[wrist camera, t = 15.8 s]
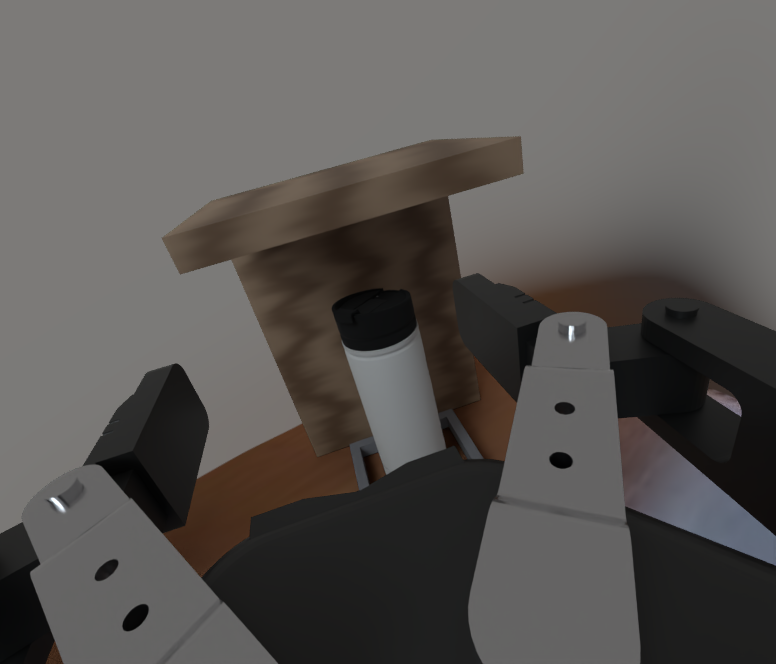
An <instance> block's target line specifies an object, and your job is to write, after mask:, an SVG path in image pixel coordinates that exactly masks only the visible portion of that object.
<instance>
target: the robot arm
mask: <svg viewBox="0 0 776 664" xmlns="http://www.w3.org/2000/svg"><path fill="white" fill-rule="evenodd" d="M452 287H453V295H454V302H455V309H456V316H457V322H458V329H459V333H460V336H461V338H462V341H463V343H464V344H465V346H466V347H467V348H468V349H469V351H470V352H471V353H472V354H473V355H474V356H475V357H476V358H477V359H478V360H479V362H480V363H481V364H482V365H483V366H484V367H485V368H486V369H487V370H488V371H489V373H490V374H491V375H492V376H493V377H494V378H495V379H496V380H497V381H498V383H499V384H500V385H501V386H502V387H503V388H504V389H505V390H506V391H507V392H508V394H509V395H510V396H511V397H512V398H513V399H514V400H515V401H516V402H517V406H516V411H515V416H514V420H513V425H512V430H511V435H510V439H509V444H508V449H507V453H506V458H505V461H500V460H493V459H467V460H463V459H462V458H461V456H460V454H459V452H458V451H457V449H456V447H455V446H452V447H449V448H447V449H444V450H441V451H438V452H435V453H432V454H430V455H427V456H424V457H421V458H418V459H415V460H413V461H410V462H407V463H405V464H404V465H402V466H400V467H399V468H397V469H395V470H394V471H392V472H390V473H389V474H387V475H385V476H384V477H382V478H380V479H379V480H377V481H375V482H374V483H372V484H370V485H369V486H367V487H365V488H364V489H362V490H360V491H357V492H352V493H344V494H337V495H330V496H322V497H315V498H307V499H302V500H299V501H296V502H294V503H291V504H288V505H285V506H282V507H279V508H277V509H274V510H271V511H268V512H265V513H262V514H260V515H257V516H254V517H251V525H250V537H248V538H247V539H245V540H243V541H242V542H240V543H239V544H238V545H236V546H235V547H233V548H232V549H231V550H230V551H228V552H227V553H226V554H225V555H224V556H222V557H221V558H220V559H219V560H218V561H217V562H216V563H215V564H214V565H213V566H212V567H211V568H210V569H209V570H208V571H207V572H206V573H205V574H204V575H203V577H202V578H201V577H200V576H199V575H198V574H197V573H196V572H195V571H194V569H193V568H192V567H191V566H190V565H189V564H188V563H187V561H186V560H185V559H184V558H183V557H182V556H181V555H180V553H179V552H178V551H177V550H176V549H175V548H174V546H173V545H172V544H171V543H170V542H169V541H168V540H167V538H166V537H165V536H164V535H163V533H165V532H168V531H171V530H174V529H177V528H179V527H182V526H185V524H186V520H187V516H188V512H189V508H190V503H191V499H192V495H193V491H194V487H195V483H196V479H197V475H198V470H199V466H200V462H201V458H202V454H203V450H204V446H205V442H206V438H207V434H208V430H209V421H208V416H207V412H206V410H205V407H204V405H203V404H202V402H201V400H200V398H199V396H198V395H197V393H196V391H195V389H194V388H193V386H192V384H191V382H190V380H189V378H188V376H187V375H186V373H185V371H184V369H183V368H182V367H181V366H180V365H179V364H172V365H169V366H166V367H162V368H159V369H156V370H152V371H149V372H147V373H146V374H145V376H144V378H143V379H142V381H141V383H140V385H139V386H138V388H137V390H136V392H135V393H134V395H132V396H130V397H129V398H128V399H127V400H126V401H125V402H124V403H123V404H122V405H121V406H120V407H119V408H118V409H117V410H116V412H115V413H114V415H113V417H112V418H111V420H110V422H109V423H110V424H109V425H107V427H106V428H105V430H104V432H103V436H101V437H100V438H99V440H98V442H97V443H96V445H95V446H94V448H93V450H92V451H91V453H90V455H89V457H88V458H87V460H86V461H85V463H84V465H83V466H82V467H79V468H76V469H74V470H72V471H69V472H67V473H65V474H63V475H62V476H60V477H58V478H56V479H55V480H53V481H52V482H50V483H49V484H48V485H46V486H45V487H44V488H43V489H42V490H40V491H39V492H38V493H37V494H36V495H35V496H34V497H33V498H32V499H31V500H30V502H29V503H28V504H27V506H26V507H25V509H24V511H23V513H22V521H23V522H22V523H20V524H18V525H16V526H14V527H12V528H10V529H9V530H6V531H5V532H3V533H1V534H0V664H45V663H46V661H47V658H48V656H49V653H50V651H51V648H52V646H53V643H54V641H55V642H56V645H57V647H58V650H59V653H60V655H61V658H62V661H63V663H64V664H776V566H775V565H772V564H770V563H767V562H765V561H762V560H760V559H757V558H755V557H752V556H750V555H747V554H745V553H742V552H739V551H737V550H734V549H732V548H729V547H727V546H724V545H722V544H719V543H717V542H714V541H712V540H709V539H706V538H704V537H701V536H699V535H696V534H694V533H691V532H689V531H686V530H684V529H681V528H678V527H676V526H673V525H671V524H668V523H666V522H663V521H661V520H658V519H656V518H653V517H651V516H648V515H646V514H643V513H640V512H638V511H635V510H633V509H630V508H628V507H625V502H624V490H623V478H622V465H621V453H620V441H619V428H618V418H627V417H638V418H639V419H640V420H641V421H642V422H644V423H645V424H646V425H647V426H648V427H649V428H651V429H652V430H653V431H654V432H655V433H656V434H658V435H659V436H660V437H661V438H662V439H663V440H665V441H666V442H667V443H668V444H669V445H670V446H672V447H673V448H674V449H675V450H676V451H677V452H679V453H680V454H681V455H682V456H683V457H684V458H686V459H687V460H688V461H689V462H690V463H691V464H693V465H694V466H695V467H696V468H697V469H698V470H700V471H701V472H702V473H703V474H704V475H705V476H707V477H708V478H709V479H710V480H711V481H712V482H714V483H715V484H716V485H717V486H718V487H719V488H721V489H722V490H723V491H724V492H725V493H726V494H728V495H729V496H730V497H731V498H732V499H733V500H735V501H736V502H737V503H738V504H739V505H740V506H742V507H743V508H744V509H745V510H746V511H747V512H749V513H750V514H751V515H752V516H753V517H754V518H756V519H757V520H758V521H759V522H760V523H761V524H763V525H764V526H765V527H766V528H767V529H768V530H770V531H771V532H772V533H773V534H774V535H775V536H776V331H774V330H771V329H769V328H767V327H764V326H762V325H759V324H757V323H755V322H752V321H750V320H748V319H745V318H743V317H740V316H738V315H735V314H733V313H731V312H729V311H726V310H724V309H721V308H719V307H716V306H714V305H712V304H709V303H707V302H704V301H700V300H695V299H687V298H668V299H661V300H656V301H654V302H651V303H649V304H647V305H646V306H645V307H644V308H643V313H642V323H640V324H633V325H625V326H617V327H609V328H608V327H607V325H606V323H605V321H603V320H602V319H601V318H599V317H597V316H595V315H592V314H588V313H582V312H565V313H558V314H557V313H555V312H554V311H552V310H551V309H549V308H547V307H546V306H544V305H543V304H541V303H540V302H538V301H536V300H534V299H533V298H532V297H530V296H528V295H525V293H523V292H522V291H520V290H519V289H517V288H515V287H513V286H508V285H504V284H500V283H498V284H494V283H492V282H491V281H489V280H488V279H486V278H485V277H483V276H482V275H480V274H478V273H476V274H473V275H470V276H467V277H463V278H460V279H457V280H454V281H453V286H452ZM710 379H711V380H713V381H714V382H716V383H718V384H719V385H721V386H723V387H724V388H726V389H727V390H729V391H730V392H731V393H732V394H733V395H734V396H735V397H736V399H737V400H738V402H739V404H740V407H741V410H742V416H741V417H740V416H739V415H737V414H735V413H734V412H732V411H731V410H729V409H728V408H726V407H725V406H723V405H722V404H720V403H719V402H717V401H716V400H714V399H712V398H711V397H709V396H708V395H707V390H708V385H709V380H710Z"/></svg>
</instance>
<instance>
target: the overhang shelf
mask: <svg viewBox="0 0 776 664" xmlns="http://www.w3.org/2000/svg"><path fill="white" fill-rule="evenodd" d="M520 174H523V160H522V146H521V137H519V136H518V137H493V138H466V139H441V140H429V141H426V142H422V143H418V144H415V145H411V146H408V147H404V148H400V149H397V150H393V151H389V152H386V153H382V154H379V155H375V156H372V157H368V158H364V159H361V160H357V161H353V162H350V163H347V164H343V165H339V166H335V167H332V168H328V169H324V170H321V171H318V172H314V173H310V174H307V175H303V176H299V177H296V178H292V179H289V180H285V181H282V182H278V183H274V184H270V185H267V186H263V187H260V188H256V189H253V190H249V191H245V192H242V193H238V194H235V195H231V196H227V197H224V198H220V199H216V200H213V201H211V202H209V203H208V204H206V205H205V206H204V207H202V208H201V209H200V210H198V211H197V212H196V213H194V214H193V215H192V216H190V217H189V218H188V219H187V220H185V221H184V222H183V223H181V224H180V225H178V226H177V227H176V228H174V229H173V230H172V231H171V232H169V233H168V234H166V235H165V236H164V237H163V238H162V240H163V242H164V244H165V246H166V248H167V249H168V252H169V253H170V256H171V258H172V259H173V261H174V263H175V265H176V267H177V269H178V271H179V273H180V274H183V273H187V272H190V271H194V270H197V269H200V268H204V267H207V266H210V265H214V264H217V263H221V262H224V261H228V260H232V262H233V264H234V267H235V269H236V271H237V274H238V276H239V278H240V281H241V283H242V285H243V288H244V290H245V292H246V294H247V297H248V299H249V301H250V303H251V306H252V308H253V310H254V313H255V315H256V317H257V320H258V322H259V324H260V327H261V329H262V331H263V333H264V336H265V338H266V340H267V343H268V345H269V347H270V350H271V352H272V354H273V356H274V359H275V361H276V363H277V366H278V368H279V370H280V372H281V375H282V377H283V379H284V382H285V384H286V386H287V389H288V391H289V393H290V396H291V398H292V400H293V403H294V405H295V407H296V409H297V412H298V414H299V416H300V419H301V421H302V423H303V425H304V428H305V430H306V432H307V435H308V437H309V439H310V442H311V444H312V446H313V448H314V451H315V453H316V455H317V457H319V456H322V455H325V454H328V453H330V452H333V451H336V450H339V449H342V448H345V447H348V446H350V445H349V444H352V443H354V442H357V441H360V440H363V439H366V438H369V437H372V436H373V434H372V431H371V428H370V425H369V422H368V419H367V416H366V413H365V410H364V407H363V404H362V401H361V398H360V395H359V392H358V389H357V386H356V383H355V380H354V377H353V374H352V371H351V368H350V365H349V362H348V359H347V356H346V353H345V349H344V347H343V344H342V339H341V336H340V333H339V330H338V327H337V324H336V321H335V318H334V315H333V312H332V306H333V304H334V303H335V302H337V301H338V300H340V299H341V298H343V297H346V296H348V295H351V294H354V293H357V292H361V291H365V290H370V289H378V288H383V290H400V289H403V290H407V291H408V292H410V294H411V299H412V303H413V307H414V313H415V316H416V319H417V322H418V326H419V327H418V328H419V331H420V335H421V339H422V344H423V348H424V353H425V357H426V361H427V366H428V370H429V375H430V379H431V383H432V388H433V392H434V397H435V401H436V405H437V410H438V413H440V412H443V411H446V410H449V409H451V408H452V410H453V409H456V408H459V407H461V406H464V405H467V404H470V403H473V402H476V401H479V400H481V399H480V393H479V387H478V381H477V374H476V368H475V362H474V356H473V354H472V353H471V352H470V351H469V349H468V348H467V347H466V346H465V344H464V343H463V341H462V338H461V336H460V333H459V329H458V322H457V316H456V309H455V302H454V295H453V287H452V286H453V281H454V280H457V279H460V278H461V275H460V269H459V262H458V256H457V250H456V243H455V237H454V231H453V225H452V218H451V212H450V206H449V199H448V196H449V195H452V194H456V193H459V192H462V191H466V190H469V189H473V188H476V187H480V186H483V185H486V184H490V183H493V182H497V181H500V180H503V179H507V178H510V177H513V176H517V175H520Z"/></svg>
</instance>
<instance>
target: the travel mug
mask: <svg viewBox="0 0 776 664" xmlns="http://www.w3.org/2000/svg"><path fill="white" fill-rule="evenodd" d="M332 312H333V315H334V318H335V321H336V324H337V327H338V330H339V333H340V336H341V339H342V344H343V347H344V349H345V353H346V356H347V359H348V362H349V365H350V368H351V371H352V374H353V377H354V380H355V383H356V386H357V389H358V392H359V395H360V398H361V401H362V404H363V407H364V410H365V413H366V416H367V419H368V422H369V425H370V428H371V431H372V434H373V437H374V440H375V443H376V446H377V449H378V452H379V455H380V458H381V461H382V464H383V467H384V470H385V473H386V475H387V474H389V473H390V472H392V471H394V470H395V469H397V468H399V467H400V466H402V465H404V464H405V463H407V462H410V461H413V460H415V459H418V458H421V457H424V456H427V455H430V454H432V453H435V452H438V451H441V450H444V449H446V445H445V441H444V436H443V432H442V428H441V423H440V419H439V414H438V410H437V405H436V401H435V397H434V392H433V388H432V383H431V379H430V375H429V370H428V366H427V361H426V357H425V353H424V348H423V344H422V339H421V335H420V331H419V328H418V327H419V326H418V322H417V319H416V316H415V313H414V307H413V303H412V299H411V294H410V292H408V291H407V290H403V289H400V290H383V288H378V289H370V290H365V291H361V292H357V293H354V294H351V295H348V296H346V297H343V298H341V299H340V300H338V301H337V302H335V303H334V304H333V306H332Z"/></svg>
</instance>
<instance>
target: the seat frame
mask: <svg viewBox="0 0 776 664" xmlns="http://www.w3.org/2000/svg"><path fill="white" fill-rule="evenodd" d="M438 414H439V419H440V423H441V428H442V429H444V428H447V427H449V428H450V430H451V432H452V433H453V435H454V437H455V439H456V440H457V442H458V444H459V445H460V447H461V449H462V451H463V452H464V454H465V456H466V457H467V459H483V457H482V455H481V454H480V452H479V451H478V449H477V448H476V446H475V444H474V443H473V441H472V440H471V438H470V437H469V435H468V433H467V432H466V430H465V429H464V427H463V425H462V424H461V422H460V421H459V419H458V418H457V416H456V414H455V413H454V411H453V410H452V408H451V409H449V410H446V411H443V412H440V413H438ZM349 445H350V450H351V455H352V459H353V464H354V468H355V473H356V478H357V482H358V487H359V491H360V490H362V489H364V488H365V487H367V486H369V485H370V483H369V479H368V475H367V471H366V467H365V463H364V459H363V457H366V456H368V455H371V454H374V453H377V452H378V449H377V446H376V443H375V440H374V437H373V436H372V437H369V438H366V439H363V440H360V441H357V442H354V443H352V444H349Z"/></svg>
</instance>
